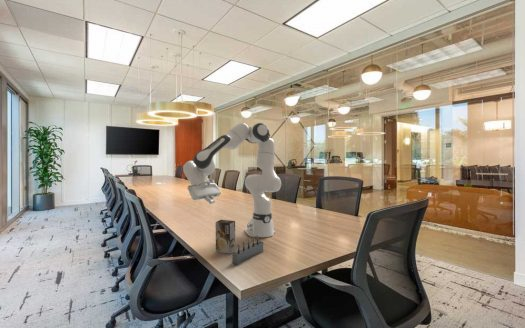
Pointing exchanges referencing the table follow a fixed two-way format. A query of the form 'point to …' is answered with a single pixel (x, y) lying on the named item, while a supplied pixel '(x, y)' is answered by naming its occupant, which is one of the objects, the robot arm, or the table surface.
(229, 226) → the coffee box
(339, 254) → the table surface
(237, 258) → the peg rack
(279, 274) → the table surface
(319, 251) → the table surface
